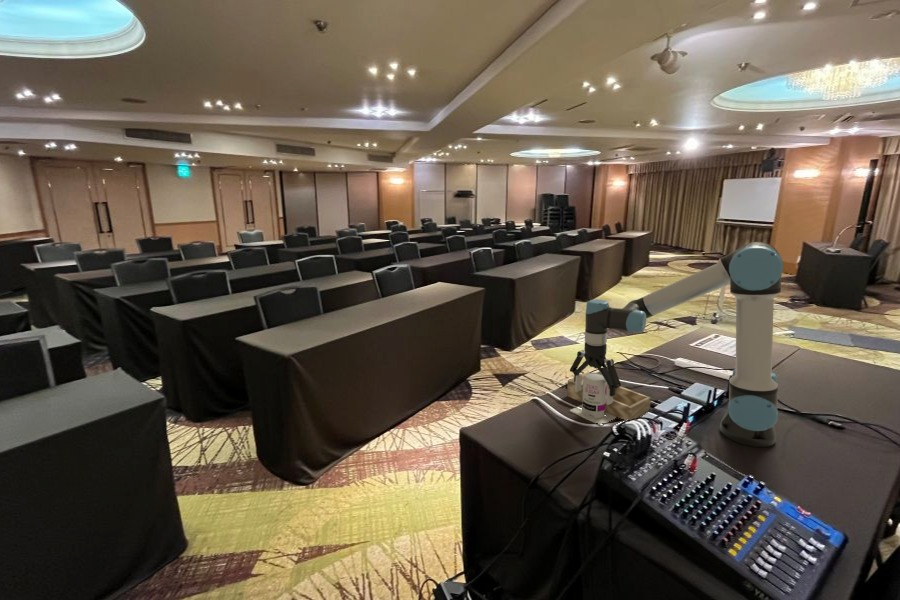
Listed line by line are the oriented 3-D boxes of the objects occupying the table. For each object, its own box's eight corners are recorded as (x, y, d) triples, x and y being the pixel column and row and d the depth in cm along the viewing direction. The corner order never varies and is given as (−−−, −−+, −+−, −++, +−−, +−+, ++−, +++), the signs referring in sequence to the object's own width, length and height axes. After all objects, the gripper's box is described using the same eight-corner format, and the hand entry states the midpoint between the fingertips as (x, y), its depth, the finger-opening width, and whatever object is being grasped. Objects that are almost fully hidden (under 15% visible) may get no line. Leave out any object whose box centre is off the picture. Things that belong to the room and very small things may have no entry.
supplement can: (601, 408, 157) (603, 372, 154) (607, 419, 149) (609, 381, 146) (580, 408, 158) (581, 372, 155) (584, 419, 150) (586, 381, 147)
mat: (616, 418, 151) (616, 417, 151) (601, 426, 146) (601, 424, 146) (584, 404, 162) (584, 403, 162) (569, 411, 157) (569, 410, 157)
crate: (649, 412, 154) (650, 394, 153) (629, 423, 147) (630, 405, 146) (587, 387, 177) (587, 372, 175) (567, 396, 170) (567, 380, 168)
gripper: (633, 349, 140) (630, 406, 145) (574, 332, 160) (572, 383, 165) (620, 354, 136) (617, 412, 140) (561, 336, 156) (560, 388, 160)
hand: (593, 397), depth 152 cm, fingers open, 13 cm apart
